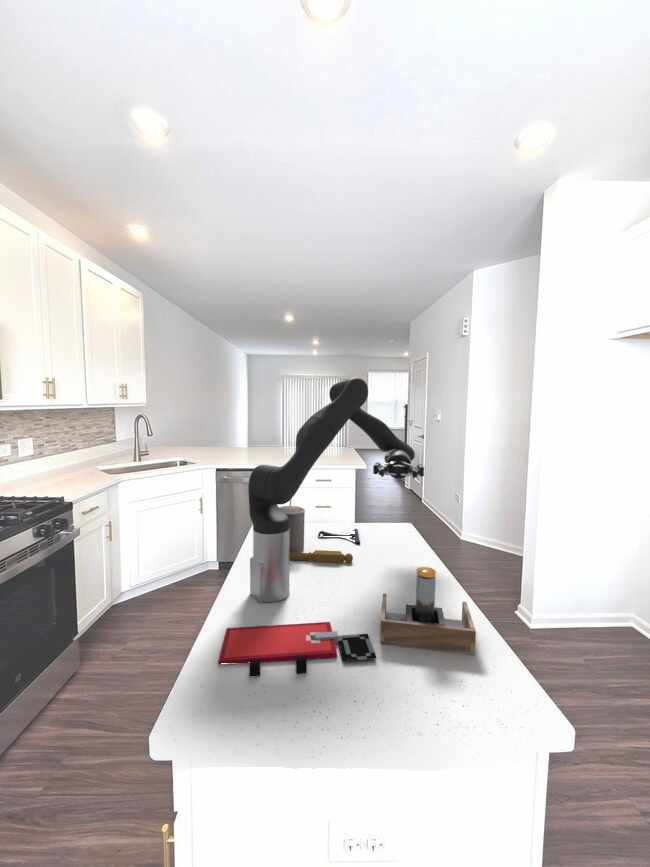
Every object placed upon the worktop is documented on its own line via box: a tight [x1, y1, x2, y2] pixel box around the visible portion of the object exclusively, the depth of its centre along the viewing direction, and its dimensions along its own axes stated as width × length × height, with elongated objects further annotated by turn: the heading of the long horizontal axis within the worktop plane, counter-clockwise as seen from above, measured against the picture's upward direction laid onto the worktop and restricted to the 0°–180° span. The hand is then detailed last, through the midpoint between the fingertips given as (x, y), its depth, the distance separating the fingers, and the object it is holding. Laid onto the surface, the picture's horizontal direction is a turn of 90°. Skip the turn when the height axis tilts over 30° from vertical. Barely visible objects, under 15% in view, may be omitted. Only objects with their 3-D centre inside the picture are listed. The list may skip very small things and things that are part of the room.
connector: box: [415, 566, 437, 623], centre depth 87 cm, size 4×4×13 cm
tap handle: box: [289, 549, 354, 565], centre depth 125 cm, size 3×3×30 cm
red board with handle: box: [218, 621, 378, 677], centre depth 81 cm, size 30×3×15 cm
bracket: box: [317, 528, 361, 545], centre depth 146 cm, size 14×15×3 cm
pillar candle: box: [278, 505, 306, 553], centre depth 133 cm, size 10×10×15 cm
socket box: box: [379, 593, 477, 656], centre depth 86 cm, size 12×19×5 cm, turn 79°
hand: (398, 473), depth 109 cm, fingers open, 8 cm apart
